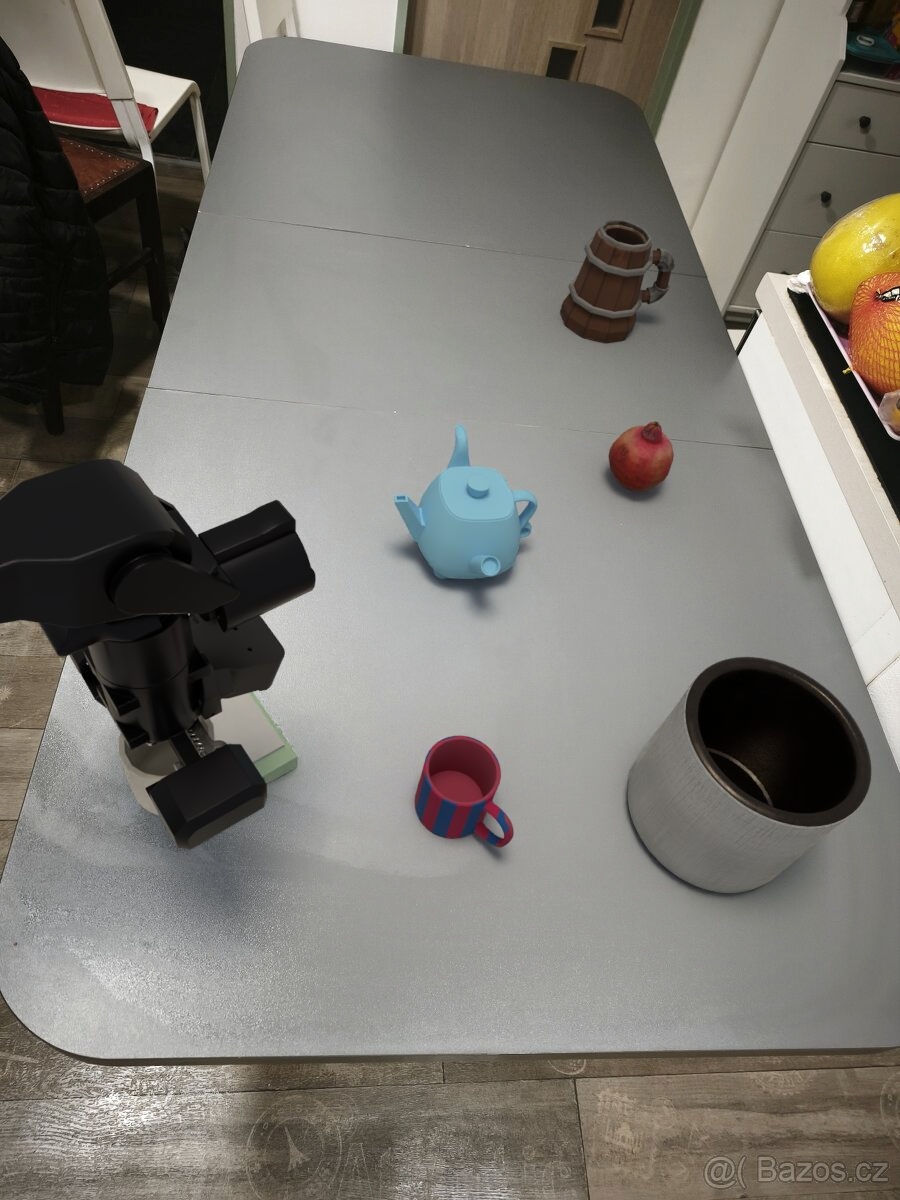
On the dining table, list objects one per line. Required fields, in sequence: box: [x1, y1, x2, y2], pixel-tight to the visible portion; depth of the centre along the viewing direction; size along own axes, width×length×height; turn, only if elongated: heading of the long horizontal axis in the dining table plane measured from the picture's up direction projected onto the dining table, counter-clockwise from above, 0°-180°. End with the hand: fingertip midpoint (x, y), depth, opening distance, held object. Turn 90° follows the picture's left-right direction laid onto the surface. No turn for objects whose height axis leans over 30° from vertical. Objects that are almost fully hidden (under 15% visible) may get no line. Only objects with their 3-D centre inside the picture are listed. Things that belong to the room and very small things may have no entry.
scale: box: [210, 692, 299, 785], centre depth 74 cm, size 11×11×2 cm
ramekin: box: [117, 715, 216, 816], centre depth 59 cm, size 6×6×6 cm
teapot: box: [393, 423, 538, 580], centre depth 91 cm, size 15×14×11 cm
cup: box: [414, 735, 515, 848], centre depth 72 cm, size 7×10×7 cm
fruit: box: [608, 420, 675, 492], centre depth 104 cm, size 8×8×10 cm
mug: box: [559, 218, 676, 344], centre depth 126 cm, size 16×12×15 cm
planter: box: [627, 656, 872, 894], centre depth 72 cm, size 16×16×16 cm
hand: (174, 768), depth 61 cm, fingers closed on ramekin, 6 cm apart
